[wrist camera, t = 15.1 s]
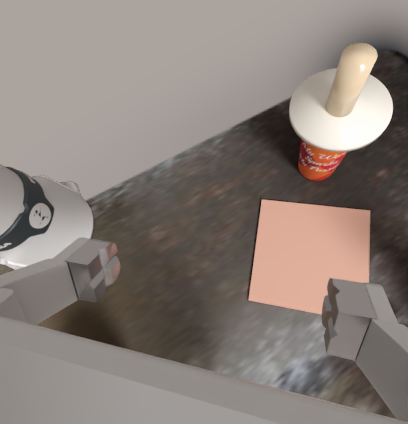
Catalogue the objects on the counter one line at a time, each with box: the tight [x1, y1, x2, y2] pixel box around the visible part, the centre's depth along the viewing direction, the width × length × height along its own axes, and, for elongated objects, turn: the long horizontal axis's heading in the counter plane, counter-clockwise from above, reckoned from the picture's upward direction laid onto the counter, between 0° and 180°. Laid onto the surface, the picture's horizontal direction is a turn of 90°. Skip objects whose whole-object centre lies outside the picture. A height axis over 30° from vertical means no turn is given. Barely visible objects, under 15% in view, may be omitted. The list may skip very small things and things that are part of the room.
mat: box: [249, 199, 370, 314], centre depth 42 cm, size 16×16×1 cm
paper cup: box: [298, 139, 348, 181], centre depth 39 cm, size 8×8×14 cm
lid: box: [289, 43, 393, 152], centre depth 29 cm, size 11×11×8 cm
